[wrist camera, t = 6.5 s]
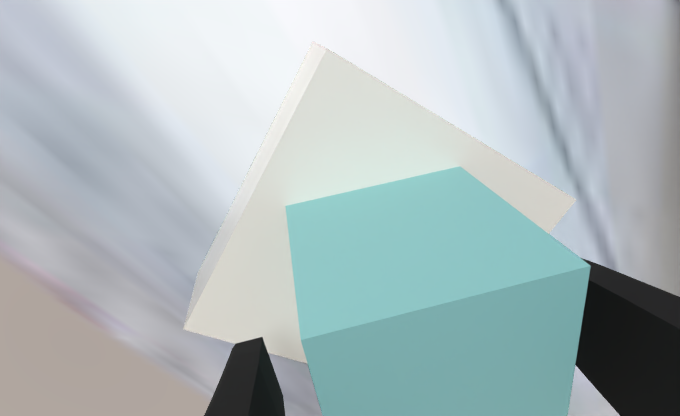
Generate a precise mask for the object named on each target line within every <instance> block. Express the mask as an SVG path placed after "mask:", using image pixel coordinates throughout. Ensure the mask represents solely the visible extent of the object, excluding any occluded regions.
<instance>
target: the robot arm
mask: <svg viewBox="0 0 680 416" xmlns="http://www.w3.org/2000/svg"><path fill="white" fill-rule="evenodd" d="M581 259H582V258H581ZM582 260H584V261H585V262H586V263H588V264H589V265H590V266H591V267H590V274H589V280H588V286H587V293H586V299H585V306H584V312H583V319H582V325H581V331H580V338H579V344H578V351H577V357H576V363H575V365H576V366H577V367H578V368H579V369H580V370H581V372H582V373H583V374H584V375H585V376H586V377H587V379H588V380H589V381H590V382H591V383H592V384H593V385H594V386H595V388H596V389H597V390H598V391H599V392H600V393H601V394H602V396H603V397H604V398H605V399H606V400H607V401H608V402H609V403H610V405H611V406H612V407H613V408H614V409H615V410H616V411H617V412H618V413H619V415H620V416H680V297H678V296H676V295H673V294H671V293H668V292H666V291H663V290H661V289H658V288H656V287H653V286H651V285H648V284H646V283H644V282H641V281H639V280H636V279H634V278H631V277H629V276H626V275H624V274H621V273H619V272H616V271H614V270H611V269H609V268H606V267H604V266H601V265H599V264H596V263H593V262H591V261H588V260H585V259H582ZM204 416H285V410H284V401H283V395H282V392H281V389H280V386H279V383H278V380H277V377H276V375H275V372H274V369H273V366H272V363H271V360H270V357H269V355H268V352H267V349H266V346H265V343H264V340H263V337H260V338H256V339H252V340H248V341H244V342H240V343H236V344H235V346H234V347H233V348H232V351H231V354H230V356H229V359H228V361H227V364H226V366H225V369H224V371H223V374H222V376H221V379H220V381H219V383H218V386H217V388H216V390H215V393H214V395H213V397H212V400H211V402H210V404H209V406H208V408H207V411H206V413H205V415H204Z"/></svg>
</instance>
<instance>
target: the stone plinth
mask: <svg viewBox="0 0 680 416" xmlns="http://www.w3.org/2000/svg"><path fill="white" fill-rule="evenodd" d="M459 166H460V167H462V168H463V169H464V170H466V171H467V172H468V173H470V174H471V175H472V176H474V177H475V178H476V179H477V180H479V181H480V182H481V183H483V184H484V185H485V186H487V187H488V188H489V189H491V190H492V191H493V192H495V193H496V194H497V195H498V196H500V197H501V198H502V199H504V200H505V201H506V202H508V203H509V204H510V205H512V206H513V207H514V208H516V209H517V210H518V211H519V212H521V213H522V214H523V215H525V216H526V217H527V218H529V219H530V220H531V221H533V222H534V223H535V224H537V225H538V226H539V227H540V228H542V229H543V230H544V231H546V232H547V233H548V234H549V233H550V232H551V231H552V229H553V228H554V227H555V226H556V224H557V223H558V222H559V221H560V219H561V218H562V217H563V216H564V215H565V213H566V212H567V211H568V210H569V208H570V207H571V206H572V205H573V204H574V202H575V201H576V199H574V198H573V197H571V196H569V195H568V194H566V193H565V192H563V191H561V190H560V189H558V188H556V187H555V186H553V185H551V184H550V183H548V182H546V181H545V180H543V179H541V178H540V177H538V176H537V175H535V174H533V173H532V172H530V171H528V170H527V169H525V168H523V167H522V166H520V165H518V164H517V163H515V162H513V161H512V160H510V159H508V158H507V157H505V156H504V155H502V154H500V153H499V152H497V151H495V150H494V149H492V148H490V147H489V146H487V145H485V144H484V143H482V142H480V141H479V140H477V139H476V138H474V137H472V136H471V135H469V134H467V133H466V132H464V131H462V130H461V129H459V128H457V127H456V126H454V125H452V124H451V123H449V122H448V121H446V120H444V119H443V118H441V117H439V116H438V115H436V114H434V113H433V112H431V111H429V110H428V109H426V108H424V107H423V106H421V105H419V104H418V103H416V102H415V101H413V100H411V99H410V98H408V97H406V96H405V95H403V94H401V93H400V92H398V91H396V90H395V89H393V88H391V87H390V86H388V85H387V84H385V83H383V82H382V81H380V80H378V79H377V78H375V77H373V76H372V75H370V74H368V73H367V72H365V71H363V70H362V69H360V68H358V67H357V66H355V65H354V64H352V63H350V62H349V61H347V60H345V59H344V58H342V57H340V56H339V55H337V54H335V53H334V52H332V51H330V50H329V49H327V48H325V47H323V46H321V45H319V44H317V43H315V42H312V44H311V46H310V48H309V50H308V52H307V54H306V56H305V58H304V60H303V62H302V64H301V66H300V68H299V70H298V72H297V74H296V76H295V78H294V80H293V82H292V84H291V86H290V88H289V90H288V92H287V94H286V96H285V98H284V100H283V102H282V104H281V106H280V108H279V110H278V112H277V114H276V116H275V118H274V120H273V122H272V124H271V126H270V128H269V130H268V132H267V134H266V136H265V138H264V140H263V142H262V144H261V146H260V148H259V150H258V152H257V154H256V156H255V158H254V160H253V162H252V164H251V166H250V168H249V170H248V172H247V175H246V177H245V179H244V181H243V183H242V185H241V187H240V189H239V191H238V193H237V195H236V197H235V199H234V201H233V203H232V205H231V207H230V209H229V211H228V213H227V215H226V217H225V219H224V221H223V223H222V225H221V227H220V229H219V231H218V233H217V235H216V237H215V239H214V241H213V243H212V245H211V247H210V249H209V251H208V253H207V255H206V257H205V259H204V261H203V263H202V265H201V267H200V269H199V271H198V274H197V278H196V282H195V286H194V290H193V293H192V297H191V301H190V305H189V309H188V313H187V317H186V321H185V325H184V328H183V329H184V330H187V331H191V332H195V333H198V334H202V335H205V336H209V337H213V338H216V339H220V340H223V341H227V342H231V343H234V344H236V343H240V342H244V341H248V340H252V339H256V338H260V337H263V340H264V343H265V346H266V349H267V352H268V353H271V354H274V355H278V356H281V357H285V358H289V359H292V360H296V361H299V362H303V363H307V360H306V356H305V353H304V350H303V346H302V343H301V338H300V329H299V321H298V312H297V303H296V294H295V286H294V277H293V268H292V260H291V251H290V242H289V233H288V225H287V216H286V207H285V206H287V205H292V204H296V203H301V202H305V201H309V200H314V199H318V198H323V197H327V196H331V195H336V194H340V193H345V192H349V191H353V190H358V189H362V188H366V187H371V186H375V185H380V184H384V183H388V182H393V181H397V180H402V179H406V178H410V177H415V176H419V175H424V174H428V173H432V172H437V171H441V170H446V169H450V168H454V167H459ZM307 364H308V363H307Z"/></svg>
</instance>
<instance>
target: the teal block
mask: <svg viewBox="0 0 680 416" xmlns="http://www.w3.org/2000/svg"><path fill="white" fill-rule="evenodd" d="M285 207H286V216H287V225H288V233H289V242H290V251H291V260H292V268H293V277H294V286H295V294H296V303H297V312H298V321H299V329H300V338H301V343H302V346H303V350H304V353H305V356H306V360H307V363H308V367H309V370H310V374H311V377H312V381H313V384H314V387H315V391H316V394H317V398H318V401H319V405H320V408H321V411H322V415H323V416H567V415H568V408H569V402H570V395H571V389H572V383H573V376H574V370H575V363H576V357H577V351H578V344H579V338H580V331H581V325H582V319H583V312H584V306H585V299H586V293H587V286H588V280H589V274H590V267H591V266H590V265H589V264H588V263H586V262H585V261H584V260H582V259H581V258H580V257H579V256H577V255H576V254H575V253H573V252H572V251H571V250H569V249H568V248H567V247H565V246H564V245H563V244H561V243H560V242H559V241H558V240H556V239H555V238H554V237H552V236H551V235H550V234H548V233H547V232H546V231H544V230H543V229H542V228H540V227H539V226H538V225H537V224H535V223H534V222H533V221H531V220H530V219H529V218H527V217H526V216H525V215H523V214H522V213H521V212H519V211H518V210H517V209H516V208H514V207H513V206H512V205H510V204H509V203H508V202H506V201H505V200H504V199H502V198H501V197H500V196H498V195H497V194H496V193H495V192H493V191H492V190H491V189H489V188H488V187H487V186H485V185H484V184H483V183H481V182H480V181H479V180H477V179H476V178H475V177H474V176H472V175H471V174H470V173H468V172H467V171H466V170H464V169H463V168H462V167H460V166H459V167H454V168H450V169H446V170H441V171H437V172H432V173H428V174H424V175H419V176H415V177H410V178H406V179H402V180H397V181H393V182H388V183H384V184H380V185H375V186H371V187H366V188H362V189H358V190H353V191H349V192H345V193H340V194H336V195H331V196H327V197H323V198H318V199H314V200H309V201H305V202H301V203H296V204H292V205H287V206H285Z"/></svg>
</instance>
